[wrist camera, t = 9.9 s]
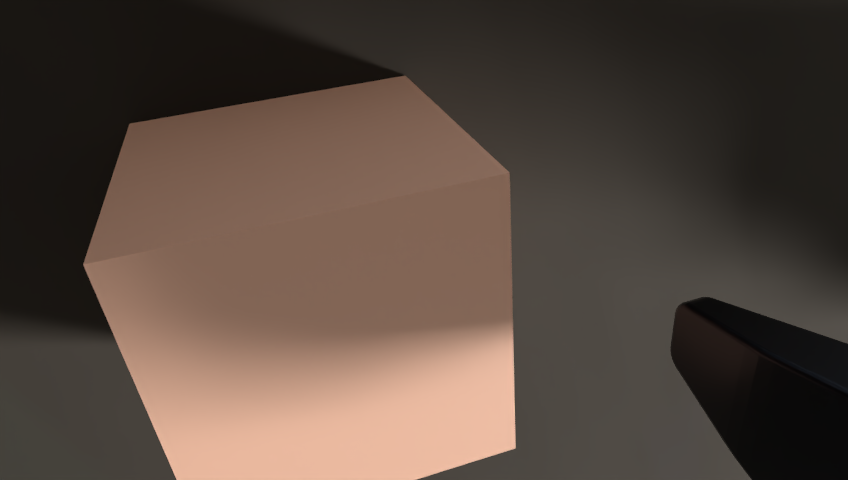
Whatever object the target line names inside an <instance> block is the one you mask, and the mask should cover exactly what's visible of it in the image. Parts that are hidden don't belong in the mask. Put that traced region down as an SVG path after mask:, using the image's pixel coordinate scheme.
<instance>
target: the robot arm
mask: <svg viewBox="0 0 848 480" xmlns="http://www.w3.org/2000/svg"><path fill="white" fill-rule="evenodd" d="M671 356H672V359H673V362H674V364H675V366H676V368H677V369H678V371H679V372H680V374H681V376H682V377H683V379H684V380H685V382H686V383H687V385H688V386H689V388H690V390H691V391H692V393H693V394H694V396H695V397H696V399H697V400H698V402H699V404H700V405H701V407H702V408H703V410H704V411H705V413H706V414H707V416H708V418H709V419H710V421H711V422H712V424H713V425H714V427H715V428H716V430H717V431H718V433H719V435H720V436H721V438H722V439H723V441H724V442H725V444H726V445H727V447H728V448H729V450H730V451H731V452H732V454H733V455H734V457H735V458H736V460H737V461H738V462H739V463H740V465H741V466H742V467H743V469H744V470H745V471H746V473H747V474H748V475H749V477H750V478H751V479H752V480H848V344H847V343H844V342H841V341H838V340H835V339H832V338H829V337H826V336H823V335H820V334H817V333H814V332H811V331H808V330H805V329H802V328H799V327H796V326H793V325H790V324H787V323H784V322H781V321H779V320H776V319H773V318H770V317H767V316H764V315H761V314H758V313H755V312H752V311H749V310H746V309H743V308H740V307H737V306H734V305H731V304H728V303H725V302H722V301H719V300H716V299H713V298H710V297H701V298H698V299H694V300H691V301H687V302H684V303H682V304H680V305H679V306H678V308H677V309H676V312H675V319H674V326H673V333H672V341H671Z"/></svg>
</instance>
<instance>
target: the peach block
mask: <svg viewBox="0 0 848 480" xmlns="http://www.w3.org/2000/svg"><path fill="white" fill-rule="evenodd" d="M83 266H84V268H85V270H86V273H87V275H88V277H89V279H90V282H91V284H92V286H93V289H94V291H95V293H96V295H97V298H98V300H99V302H100V305H101V307H102V309H103V312H104V314H105V316H106V318H107V321H108V323H109V325H110V328H111V330H112V332H113V335H114V337H115V339H116V341H117V344H118V346H119V348H120V351H121V353H122V355H123V357H124V360H125V362H126V364H127V367H128V369H129V371H130V374H131V376H132V378H133V380H134V383H135V385H136V387H137V390H138V392H139V394H140V396H141V399H142V401H143V403H144V406H145V408H146V410H147V413H148V415H149V417H150V419H151V422H152V424H153V426H154V429H155V431H156V433H157V435H158V438H159V440H160V442H161V445H162V447H163V449H164V452H165V454H166V456H167V458H168V461H169V463H170V465H171V468H172V470H173V472H174V474H175V477H176V479H177V480H416V479H419V478H422V477H426V476H429V475H432V474H435V473H438V472H442V471H445V470H448V469H451V468H454V467H457V466H461V465H464V464H467V463H470V462H473V461H477V460H480V459H483V458H486V457H489V456H492V455H496V454H499V453H502V452H505V451H508V450H512V449H515V402H514V354H513V307H512V259H511V212H510V173H509V172H508V171H507V170H506V169H505V168H504V167H503V166H502V165H501V164H500V163H499V162H498V161H496V160H495V159H494V158H493V157H492V156H491V155H490V154H489V153H488V152H487V151H486V150H485V149H484V148H483V147H481V146H480V145H479V144H478V143H477V142H476V141H475V140H474V139H473V138H472V137H471V136H470V135H469V134H468V133H466V132H465V131H464V130H463V129H462V128H461V127H460V126H459V125H458V124H457V123H456V122H455V121H454V120H452V119H451V118H450V117H449V116H448V115H447V114H446V113H445V112H444V111H443V110H442V109H441V108H440V107H439V106H437V105H436V104H435V103H434V102H433V101H432V100H431V99H430V98H429V97H428V96H427V95H426V94H425V93H423V92H422V91H421V90H420V89H419V88H418V87H417V86H416V85H415V84H414V83H413V82H412V81H411V80H410V79H408V78H407V77H406V76H400V77H394V78H388V79H382V80H377V81H371V82H365V83H359V84H354V85H348V86H342V87H337V88H331V89H325V90H319V91H314V92H308V93H302V94H296V95H291V96H285V97H279V98H274V99H268V100H262V101H256V102H251V103H245V104H239V105H234V106H228V107H222V108H216V109H211V110H205V111H199V112H193V113H188V114H182V115H176V116H171V117H165V118H159V119H153V120H148V121H142V122H136V123H130V124H129V127H128V130H127V133H126V136H125V139H124V142H123V145H122V148H121V151H120V154H119V157H118V160H117V163H116V166H115V169H114V172H113V175H112V178H111V181H110V184H109V187H108V190H107V193H106V197H105V200H104V203H103V206H102V209H101V212H100V215H99V218H98V221H97V224H96V227H95V230H94V233H93V236H92V239H91V242H90V245H89V248H88V251H87V254H86V257H85V260H84V263H83Z"/></svg>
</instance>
